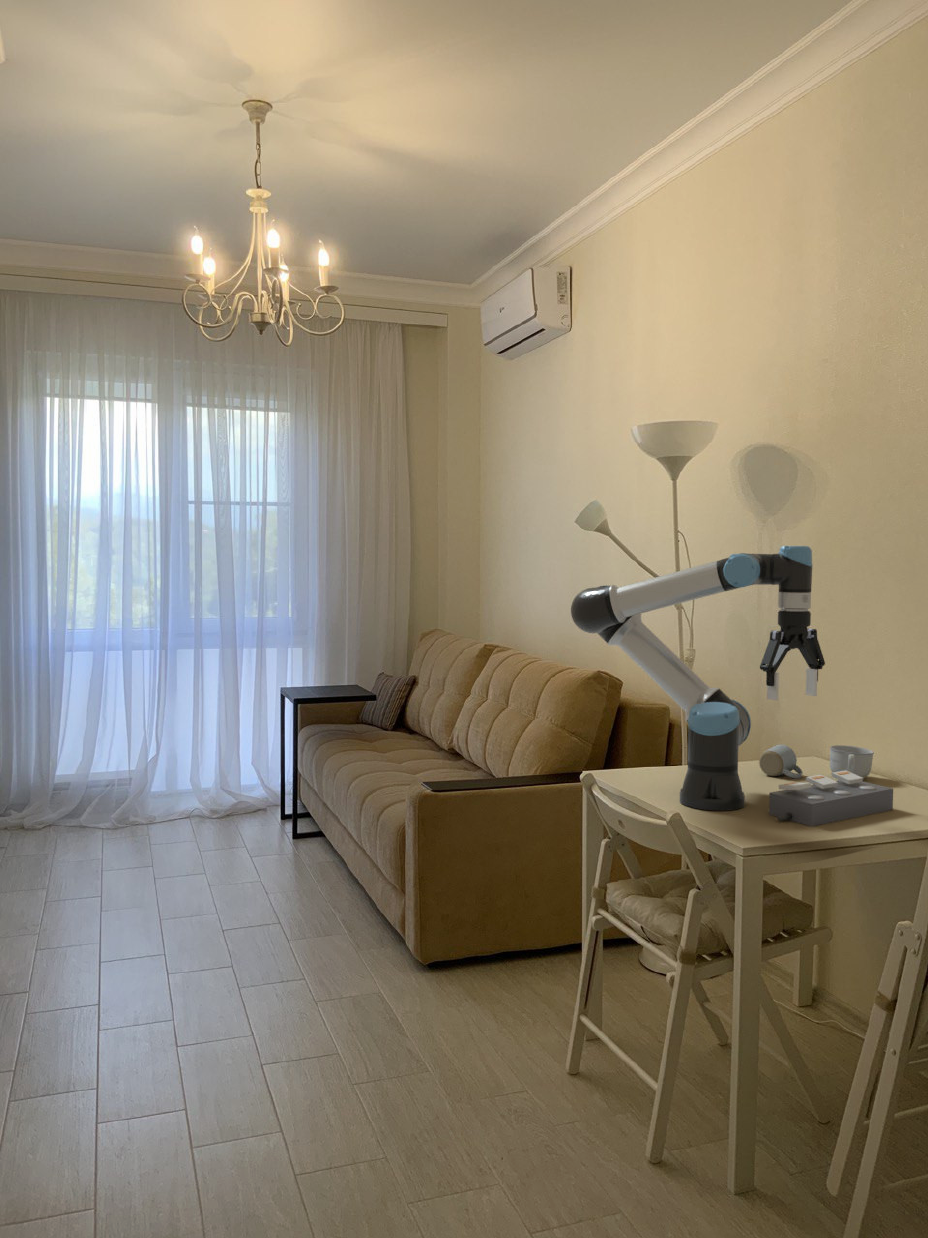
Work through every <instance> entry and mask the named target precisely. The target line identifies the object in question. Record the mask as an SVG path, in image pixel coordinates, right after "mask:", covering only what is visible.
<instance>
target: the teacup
mask: <svg viewBox="0 0 928 1238" xmlns="http://www.w3.org/2000/svg"><path fill="white" fill-rule="evenodd" d="M829 750H830V751H829V768H830V771H831V773H833V772H839V771H845V770H846V771H848V772H851V773H853V774H855V775H858V776H860V777H862V778H863V780H864V779H865V778H866V777H868V776H869V775H870V773H871V772H872V766H873V759H874V757H873V756H874V750H871V749H868V748H865V747H859V746H854V745H843V744H842V745H839V744H838V745H831V746H830V747H829Z"/></svg>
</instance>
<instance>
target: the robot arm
mask: <svg viewBox="0 0 928 1238" xmlns="http://www.w3.org/2000/svg"><path fill="white" fill-rule="evenodd" d="M813 566H814V565H813V550H812V548H811V547H810V546H808V545H782V546H780V548H779V550H778V553H744V552H741V553H733V554H730V555H729V557H725V558H722V559H719V560H715V561H712V562H708V563H704V564H701V565H697V566H693V567H690V568H685V569H682V570H679V571H674V572H671V573H666V574H664V575H663V574H662V575H660V576H657V577H653V578H648V579H645V580H641V581H638V582H634V583H631V584H626V585H624V586H620V587H618V586H617V585H615V584H612V585H600V586H597V587H595V586H594V587H589V588H585V589H583V590H580V592H579V593H577V595H575V596H574V599H573V601H572V603H571V607H570V615H571V619H572V622H573V623H574V625H575V626H576V627H577V628H578V629H580V630H581V631H583V632H585V633H589V634H597V635H599V636H600V638H601V639H603V640H604V642H606V644H607V645H609V646H618V648H620V649H621V650H622V651H623V652H624V653H625V654H626V655H627V656H628V657H629V658H630V659H631V660H632V661H633V662H634V663H636V665H637V666H638V667H640V669H642V670H643V672H645V674H647V675H648V676H649V677H650V678H651V680H653V681H654V682H655V683H656V684H657V685H658V686H659V687H660V688H661V689H662V691H664V692H665V693H666V694H667V695H668V696H669V697H670V698H671V700H673V701H674V702H675V703H676V704H677V705H678V706H679V707H680V708H681V709H682V710H683V711H684V712H685V721H686V722H687V725H688V726H687V731H688V734H687V735H688V736H687V738H688V741H687V771H686V774H685V778H684V780H683V783H682V787H681V788H680V791H679V802H680V803H681V804H682V805H683V806H686V807H688V808H694V809H697V810H699V809H700V810H705V811H732V810H733V811H734V810H739V809H741V808H743V807H744V806H745V803H746V800H745V799H746V797H745V792H744V791H743V787H742V783H741V779H740V775H739V770H738V769H739V746H741V745H742V744H743V743H744V742H745V741H747V738H748V737H749V735H750V732H751V727H752V721H751V716H750V713H749V710H747V708H746V707H745V706H744V705H743V704H741V703H740V702H738V701H737V700H734V699H731V698H730V697H729V696H728V695H726V693H724V691H722V689H720V688H719V687H710V686H708V684H707V683H705V682H704V680H702V679H701V678H700V677H699V675H698V674H696V673H695V672H694V671H693V670H692V669H691V668H690V667H689V666H688V665H687V664H686V663H684V661H683V660H682V659H681V658H679V657H678V655H677V654H675V653H674V651H672V650H671V649H670V648H669V647H668V646H667V645H666V644H665V643H664V642H663V641H662V640H661V639H660V638H659V637H658V636H657V635H656V634H655V633H654V632H653V631H652V630H650V629H649V628H648V627H647V625H645V624H644V623H643V622H642V621H643V620H642V614H644V613H648V612H653V611H655V610H656V611H657V610H659V609H663V608H667V607H672V606H675V605H679V604H683V603H686V602H690V601H695V600H697V599H702V598H705V597H709V596H714V595H717V594H720V593H725V592H728V591H733V590H737V589H741V588H746V587H749V586H753V585H755V586H756V585H759V586H760V585H761V586H762V585H763V586H764V585H765V586H766V585H771V586H776V585H777V586H778V595H777V597H778V599H777V602H778V603H777V608H778V609H779V611H778V612H777V625H778V626H779V627H780V630H770V633H769V641H768V643H767V646H766V647H765V651H764V654H763V657H762V659H761V662H760V665H759V669H760V670H761V671H763V672H766V677H765V679H766V680H765V683H766V684H765V685H766V686H767V687H766V688H767V690H766V699H767V700H773V701H779V678H780V677H779V675H780V673H779V672H777V671H778V669H779V667H780V665H781V664H782V662H783V661H784V659H785V657H786V656H787V654H788V652H790V651H791V650H794V649H795V650H796V649H797V650H799V652H800V654H801V655H802V657H803V660H805V663H806V665H807V666H808V667H809V668H808V667H807V668H806V669H805V670H806V671H805V677H806V678H805V695H806V696H811V697H817V694H818V693H817V692H818V682H819V670H823V667H824V666H825V665H826V662H825V658H824V654H823V652H822V649H821V646H820V642H819V639H818V631H817V629H816V628H809V627H810V626H811V619H812V618H811V617H812V613H811V611H810V609H811V607H812V605H811V604H812V581H813V580H812V579H813Z"/></svg>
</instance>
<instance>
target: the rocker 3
mask: <svg viewBox="0 0 928 1238" xmlns="http://www.w3.org/2000/svg"><path fill="white" fill-rule="evenodd" d="M830 777H832V778H834V779H836V780H837V781H840V782H844V783H847V784H853V783H859V782H862V781H863V782H864V779H863V778H862V777H860V776H858V775H855V774H853V773H851V772H848V771H846V770H845V771H839V772H831V776H830Z"/></svg>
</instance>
